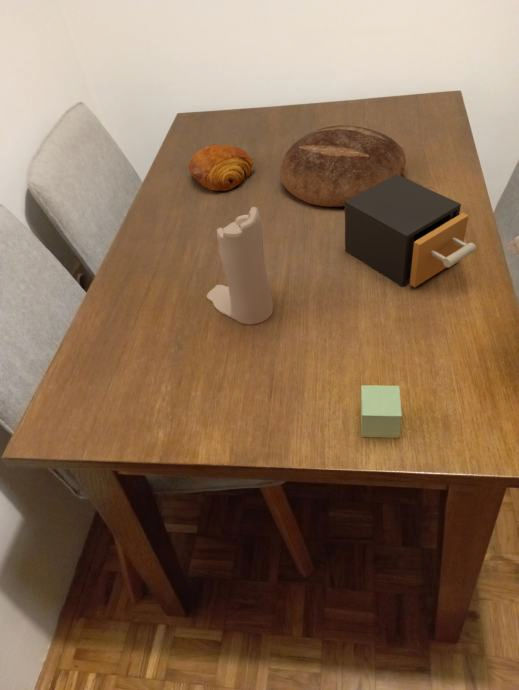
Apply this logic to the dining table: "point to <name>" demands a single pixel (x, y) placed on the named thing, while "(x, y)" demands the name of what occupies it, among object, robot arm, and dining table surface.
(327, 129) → the bread
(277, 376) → the dining table surface
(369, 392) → the block
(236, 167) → the croissant
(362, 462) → the dining table surface
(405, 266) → the cabinet
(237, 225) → the candle
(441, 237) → the drawer
